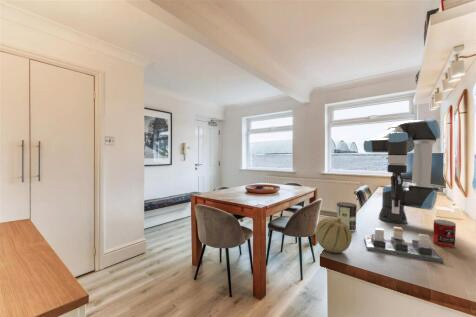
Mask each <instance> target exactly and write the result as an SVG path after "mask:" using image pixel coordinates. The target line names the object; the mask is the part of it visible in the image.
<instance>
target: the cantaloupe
mask: <svg viewBox="0 0 476 317" xmlns="http://www.w3.org/2000/svg"><path fill="white" fill-rule="evenodd" d="M314 235H315V240H316V242H317V243H318V244H319V246H320V247H321V248H322V249H323V250H325V251H327V252H329V253H333V254H337V253H342V252H346V251H347V250H348V248H349V247H350V246H351V242H352V236H353V235H352V231H350V229H349V227H348V225H347V224H346V223H345V222H344V221H342V220H341V219H338V218H337V217H333V216H331V217H325V218H323V219H321V220H320V221H319V222H318V223H317V225H316V227H315V234H314Z"/></svg>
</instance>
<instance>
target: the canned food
mask: <svg viewBox="0 0 476 317" xmlns="http://www.w3.org/2000/svg"><path fill="white" fill-rule="evenodd" d="M456 230H457V224H456V222H453V221H450V220H447V219H434V220H433V234H432V237H433V238H432V239H433V240H432V242H433V243H434V244H435V245H437V246H439V247H443V248H448V249H449V248H450V249H452V248H455V245H456V234H457V233H456Z"/></svg>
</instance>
